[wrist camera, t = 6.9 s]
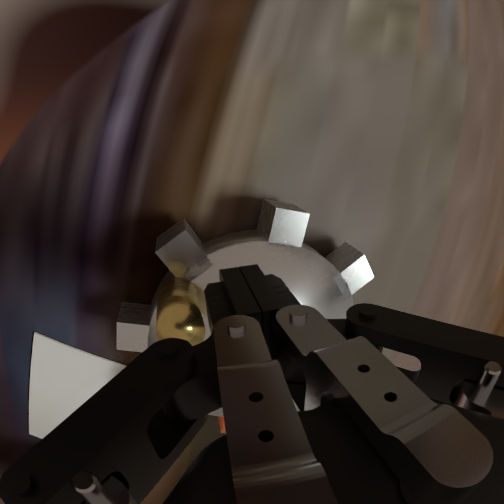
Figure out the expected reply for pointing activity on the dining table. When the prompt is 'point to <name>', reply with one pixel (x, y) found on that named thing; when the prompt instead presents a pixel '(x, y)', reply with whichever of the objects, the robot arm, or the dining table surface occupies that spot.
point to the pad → (62, 382)
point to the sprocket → (235, 255)
